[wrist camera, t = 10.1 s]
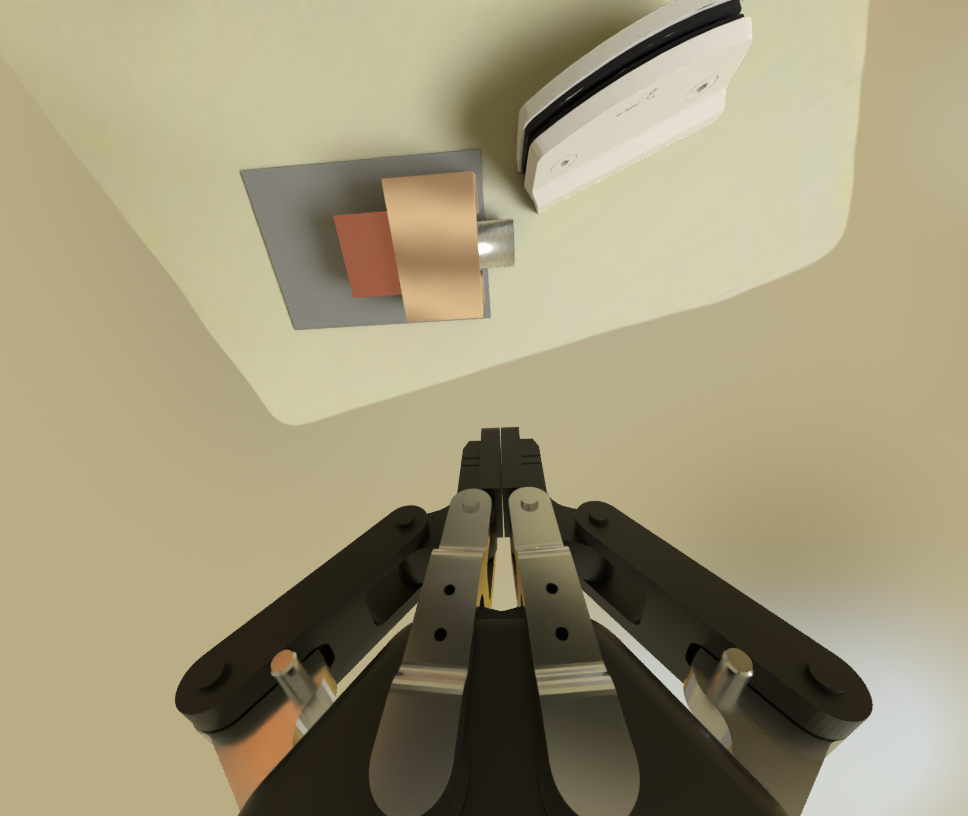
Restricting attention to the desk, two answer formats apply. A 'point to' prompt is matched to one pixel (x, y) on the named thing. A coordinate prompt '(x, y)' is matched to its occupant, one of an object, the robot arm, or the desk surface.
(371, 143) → the desk surface
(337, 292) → the mat
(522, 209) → the desk surface
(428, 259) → the wooden block
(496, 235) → the pin
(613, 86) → the white rounded piece
